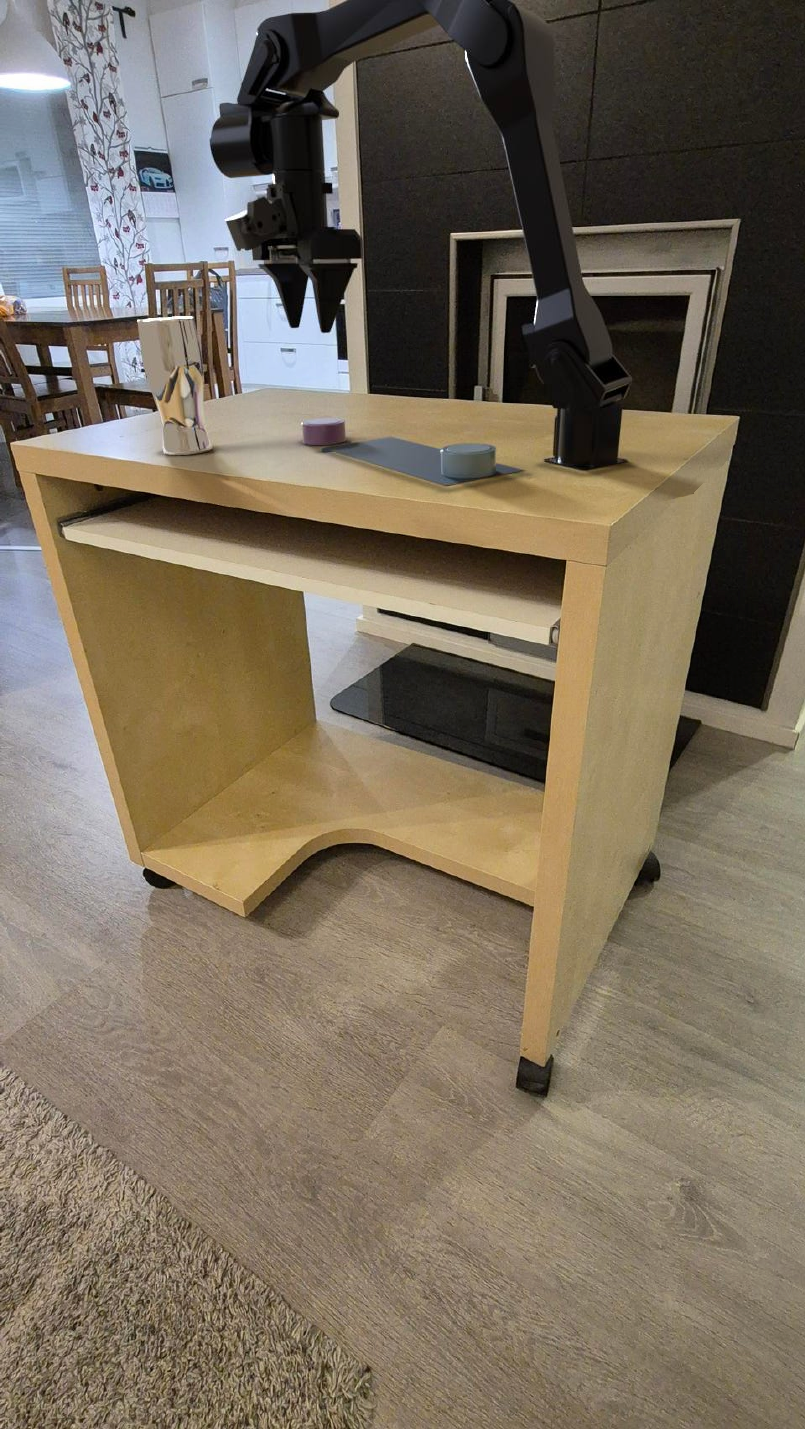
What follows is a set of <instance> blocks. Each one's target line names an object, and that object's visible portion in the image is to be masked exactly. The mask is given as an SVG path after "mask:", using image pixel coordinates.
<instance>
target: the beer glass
mask: <svg viewBox="0 0 805 1429" xmlns="http://www.w3.org/2000/svg"><path fill="white" fill-rule="evenodd" d="M137 330H138V338H139V339H138V340H139V347H140V354H141V360H142V364H143V370H144V373H145V376H146V379H147V383H148V385H149V388H150V389H149V390H150V391H151V395H152V397H153V401H154V403H155V405H156V406H155V407H156V409H157V411H158V415H159V418H160V422H161V431H162V451H163V454H164V455H169V456H190V455H198V454H204V453H207V452H210V451H211V450H212V449H213V445H212V441H211V439H210V436H209V433H208V429H207V427H206V421H205V413H204V394H205V392H204V390H205V389H204V386H205V385H204V380H205V379H204V364H203V356H202V351H201V344H200V340H199V336H198V330H197V327H196V322H195V317H194V316H172V317H154V318H145V319H137Z"/></svg>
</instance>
